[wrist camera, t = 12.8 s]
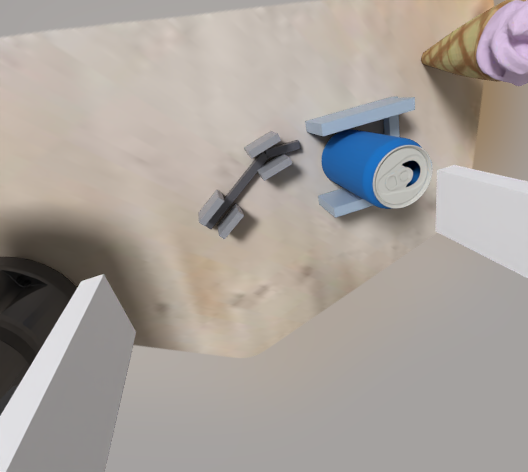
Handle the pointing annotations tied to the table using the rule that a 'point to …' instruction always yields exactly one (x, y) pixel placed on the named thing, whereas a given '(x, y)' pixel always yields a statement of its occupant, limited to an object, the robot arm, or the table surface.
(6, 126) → the table surface
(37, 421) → the robot arm
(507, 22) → the ice cream cone
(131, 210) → the table surface
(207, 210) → the clip
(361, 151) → the beverage can
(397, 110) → the end holder
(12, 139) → the table surface
